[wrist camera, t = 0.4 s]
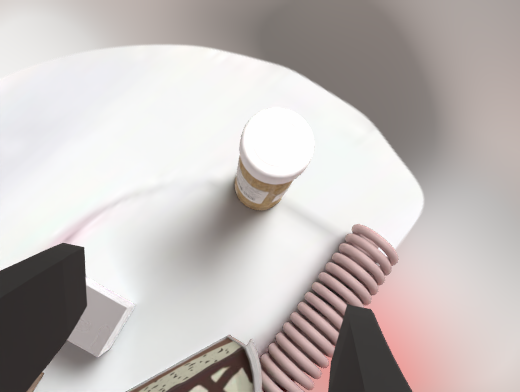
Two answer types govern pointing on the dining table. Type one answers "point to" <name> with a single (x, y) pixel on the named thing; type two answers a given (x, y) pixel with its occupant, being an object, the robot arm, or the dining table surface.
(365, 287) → the coil
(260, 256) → the dining table surface
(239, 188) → the sprinkles bottle
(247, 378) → the food container
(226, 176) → the dining table surface
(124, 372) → the dining table surface
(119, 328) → the white yellow block
